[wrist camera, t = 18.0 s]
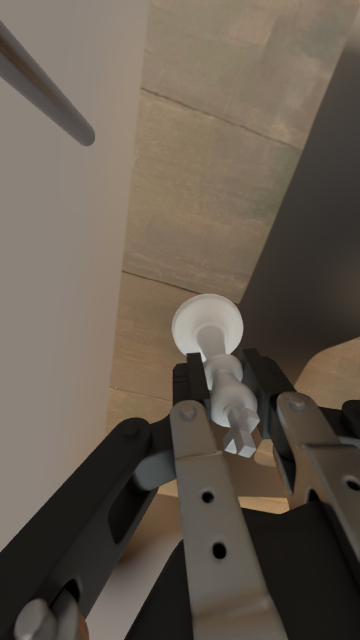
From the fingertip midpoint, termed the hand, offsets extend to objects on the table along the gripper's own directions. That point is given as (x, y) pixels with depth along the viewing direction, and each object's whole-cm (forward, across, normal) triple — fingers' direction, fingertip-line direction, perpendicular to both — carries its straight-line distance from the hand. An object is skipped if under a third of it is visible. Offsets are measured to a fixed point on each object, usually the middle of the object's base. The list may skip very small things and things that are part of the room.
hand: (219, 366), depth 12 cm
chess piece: (+5, 0, 0) cm, 5 cm away
